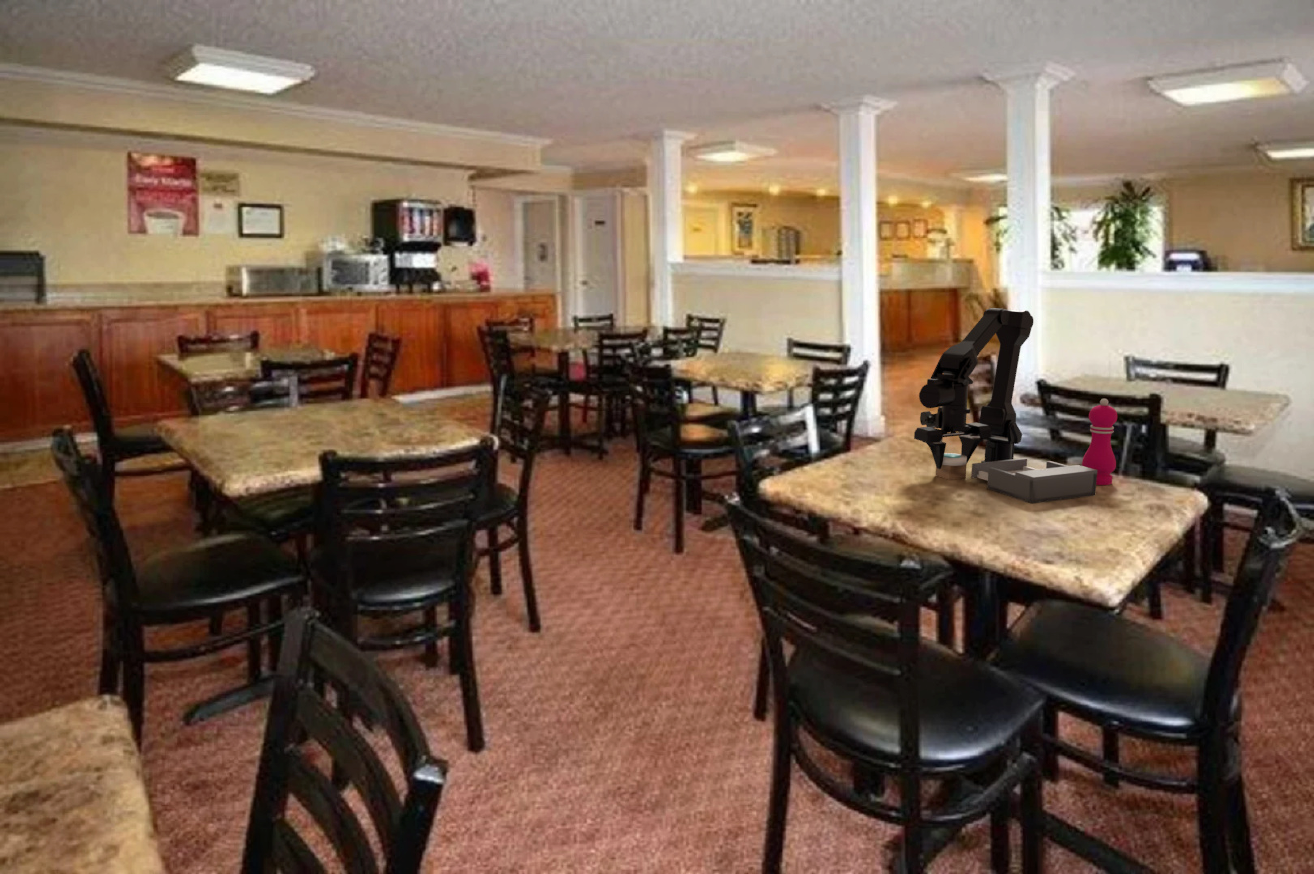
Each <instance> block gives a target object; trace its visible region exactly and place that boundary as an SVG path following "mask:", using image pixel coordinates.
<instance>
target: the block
mask: <svg viewBox="0 0 1314 874" xmlns="http://www.w3.org/2000/svg"><path fill="white" fill-rule="evenodd" d="M967 465H968V463H967V464H966V465H961V466H949V465H942V466H941V469H938V468H937V467H936V466H935V476H937V477H940V478H943V479H945V480H948V481H949V480H959V479H966V478H967Z"/></svg>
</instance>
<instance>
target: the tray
mask: <svg viewBox="0 0 1314 874" xmlns="http://www.w3.org/2000/svg"><path fill="white" fill-rule="evenodd" d="M990 467H993V468H996V469H1000V470H1003V471H1006V472H1010V473H1013V474H1015V472H1020V471H1029V470H1038V468H1034V467H1032V466H1031V467H1030V466H1028V458H1025V457H1022V458H1020V457H1019V458H1013V459H1011V460H1001V461H992V462H982V463H981V462H976V463H975V462H974V463H971V478H972V479H981V480H984V481H987V482H988V470H989V468H990Z"/></svg>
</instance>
